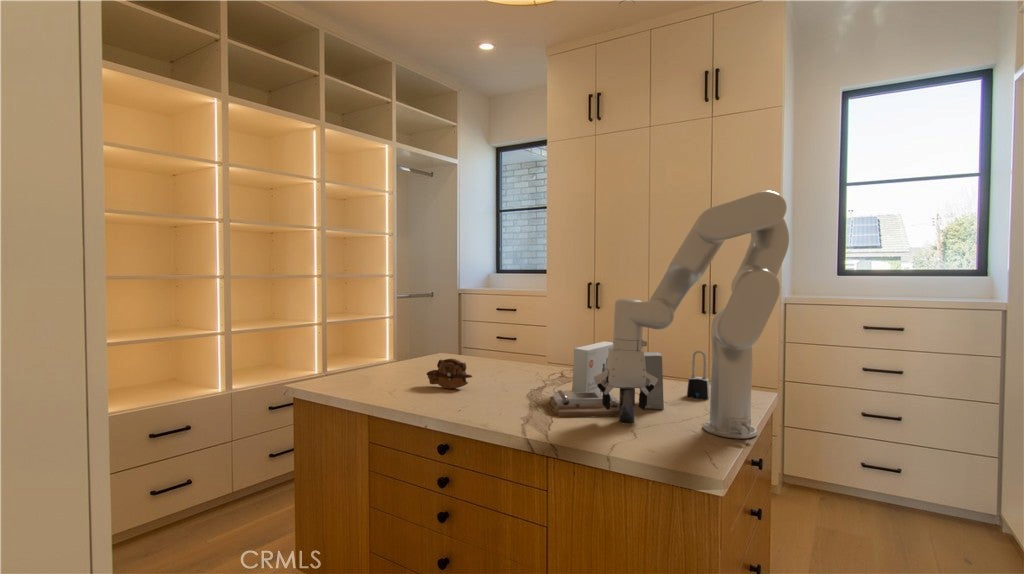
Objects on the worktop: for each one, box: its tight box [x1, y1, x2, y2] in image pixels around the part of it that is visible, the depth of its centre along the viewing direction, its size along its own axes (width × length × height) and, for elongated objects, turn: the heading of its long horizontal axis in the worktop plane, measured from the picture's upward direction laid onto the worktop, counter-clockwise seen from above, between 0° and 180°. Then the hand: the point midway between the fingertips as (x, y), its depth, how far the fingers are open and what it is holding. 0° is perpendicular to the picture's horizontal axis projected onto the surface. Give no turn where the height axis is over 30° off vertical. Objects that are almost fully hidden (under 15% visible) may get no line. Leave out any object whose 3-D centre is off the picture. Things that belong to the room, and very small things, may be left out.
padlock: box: [686, 350, 711, 400], centre depth 163 cm, size 7×4×15 cm, turn 62°
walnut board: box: [549, 396, 619, 418], centre depth 149 cm, size 16×19×2 cm
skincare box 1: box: [571, 340, 613, 395], centre depth 167 cm, size 21×5×16 cm, turn 143°
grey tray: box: [553, 389, 619, 408], centre depth 149 cm, size 9×18×3 cm, turn 95°
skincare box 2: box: [639, 351, 665, 410], centre depth 152 cm, size 8×7×16 cm
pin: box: [618, 388, 636, 425], centre depth 136 cm, size 4×4×9 cm
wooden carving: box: [426, 358, 473, 389], centre depth 171 cm, size 16×5×10 cm, turn 73°
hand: (624, 408), depth 136 cm, fingers open, 9 cm apart
